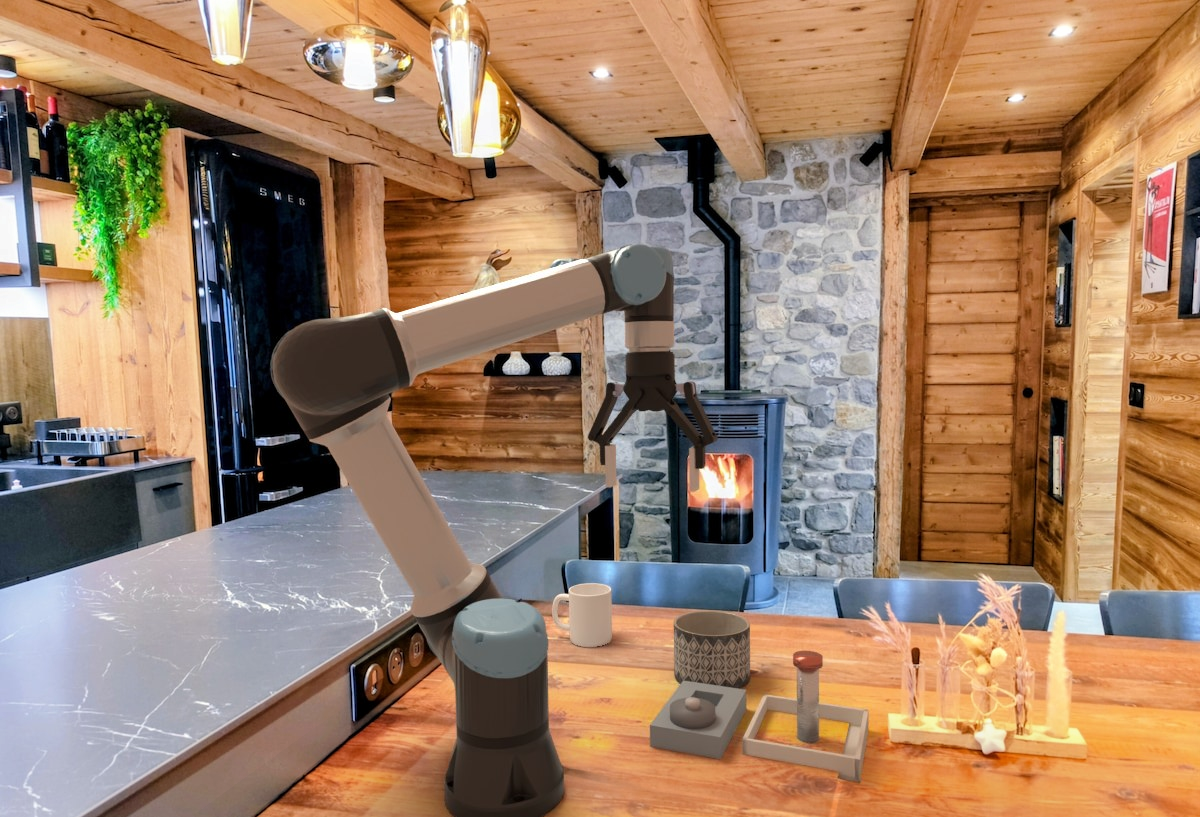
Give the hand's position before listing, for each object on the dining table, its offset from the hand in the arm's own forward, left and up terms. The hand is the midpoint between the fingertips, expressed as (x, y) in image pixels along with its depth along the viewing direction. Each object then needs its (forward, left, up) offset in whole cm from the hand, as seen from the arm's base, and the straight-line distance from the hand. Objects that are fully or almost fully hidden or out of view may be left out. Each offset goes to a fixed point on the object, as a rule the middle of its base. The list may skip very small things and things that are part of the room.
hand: (652, 488), depth 121 cm
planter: (+12, -6, -35) cm, 37 cm away
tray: (-4, -24, -35) cm, 42 cm away
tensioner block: (-6, -9, -35) cm, 36 cm away
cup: (+23, +23, -35) cm, 48 cm away
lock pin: (-4, -24, -34) cm, 42 cm away
